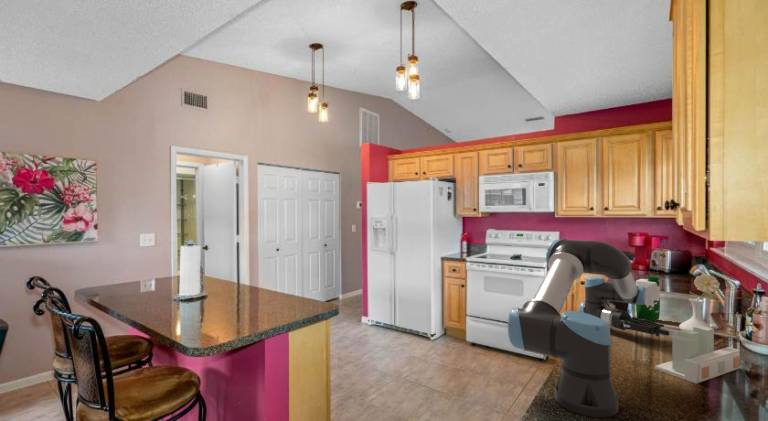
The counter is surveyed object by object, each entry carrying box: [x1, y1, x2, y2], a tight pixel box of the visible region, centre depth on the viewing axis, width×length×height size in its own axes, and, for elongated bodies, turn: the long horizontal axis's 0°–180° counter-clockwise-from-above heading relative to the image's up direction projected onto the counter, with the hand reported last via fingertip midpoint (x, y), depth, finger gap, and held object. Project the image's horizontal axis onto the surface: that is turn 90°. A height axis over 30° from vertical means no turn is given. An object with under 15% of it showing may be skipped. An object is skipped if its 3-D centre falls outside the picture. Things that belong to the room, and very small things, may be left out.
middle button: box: [677, 329, 699, 357], centre depth 126 cm, size 4×4×10 cm
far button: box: [693, 326, 715, 356], centre depth 129 cm, size 4×4×10 cm
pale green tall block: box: [671, 336, 694, 373], centre depth 119 cm, size 4×4×10 cm
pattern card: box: [699, 352, 741, 383], centre depth 118 cm, size 22×1×5 cm, turn 115°
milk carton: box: [635, 275, 661, 323], centre depth 178 cm, size 9×9×20 cm
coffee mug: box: [605, 300, 629, 313], centre depth 181 cm, size 12×9×10 cm
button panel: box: [654, 346, 741, 384], centre depth 123 cm, size 25×12×6 cm, turn 115°
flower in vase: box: [678, 273, 721, 331], centre depth 157 cm, size 13×11×25 cm
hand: (680, 335), depth 136 cm, fingers closed
